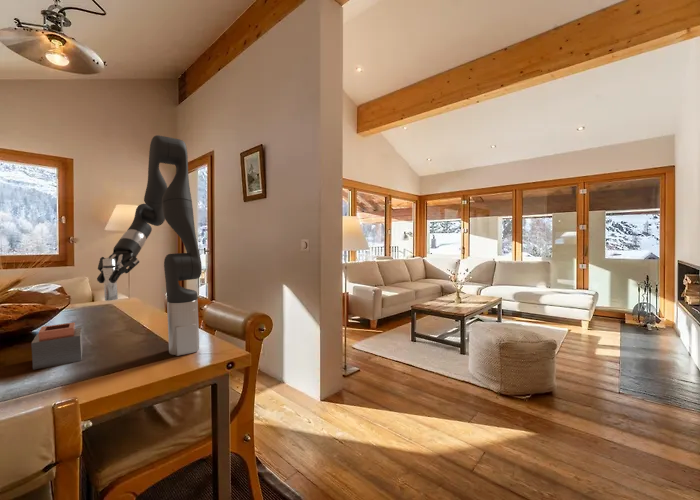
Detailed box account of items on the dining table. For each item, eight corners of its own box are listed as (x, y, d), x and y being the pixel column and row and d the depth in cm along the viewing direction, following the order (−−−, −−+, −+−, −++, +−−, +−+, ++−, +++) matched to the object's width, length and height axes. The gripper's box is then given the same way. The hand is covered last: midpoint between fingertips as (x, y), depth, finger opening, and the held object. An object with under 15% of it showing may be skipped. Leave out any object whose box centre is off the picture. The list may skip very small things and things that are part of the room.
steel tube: (118, 299, 112) (116, 258, 111) (104, 301, 109) (102, 259, 109) (117, 297, 115) (115, 258, 114) (104, 299, 112) (102, 259, 112)
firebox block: (81, 360, 103) (79, 327, 102) (32, 369, 96) (30, 334, 95) (82, 350, 111) (80, 320, 111) (38, 358, 104) (36, 326, 104)
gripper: (106, 237, 119) (78, 275, 107) (143, 237, 118) (118, 274, 106) (118, 251, 124) (92, 288, 113) (153, 250, 123) (131, 288, 112)
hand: (105, 281), depth 110 cm, fingers closed on steel tube, 3 cm apart
